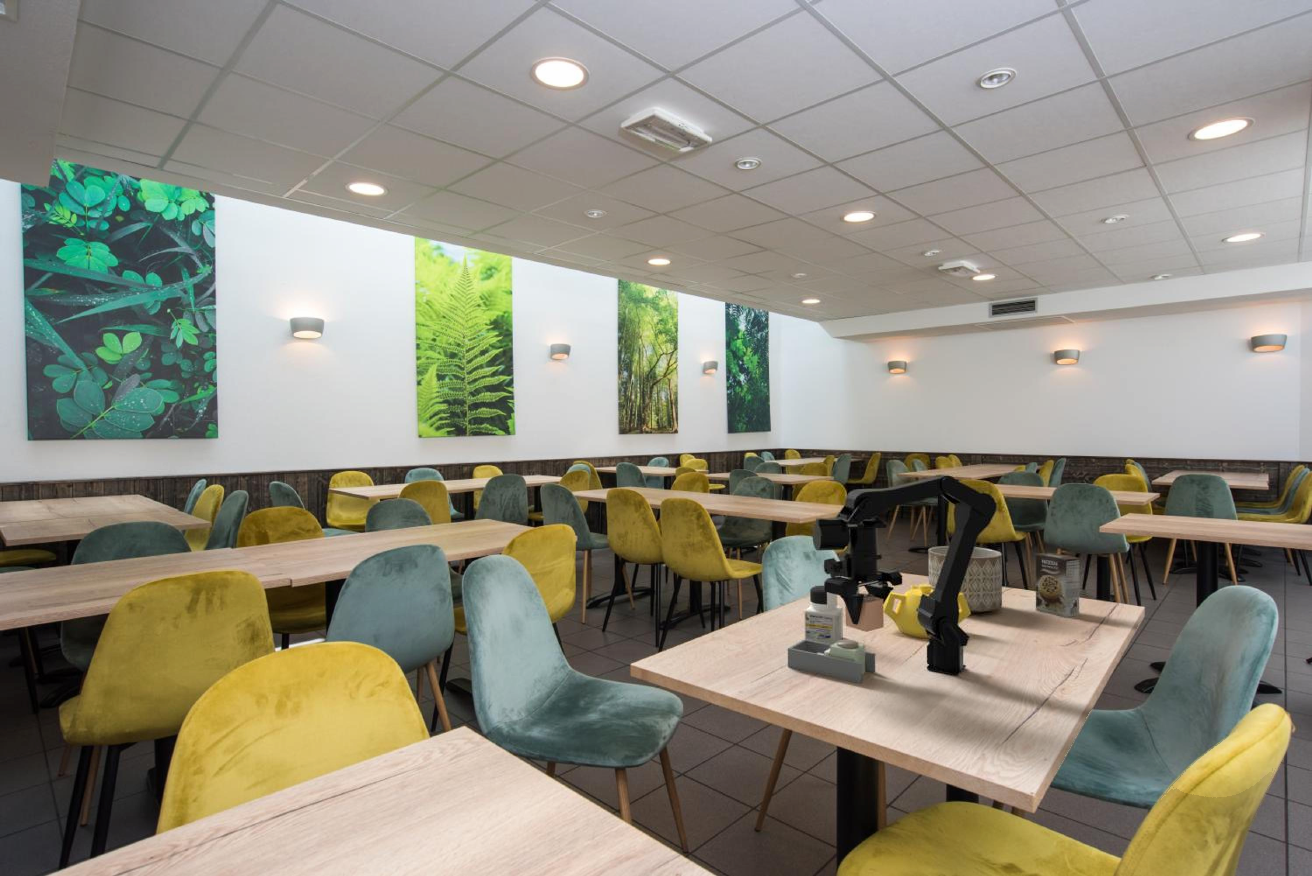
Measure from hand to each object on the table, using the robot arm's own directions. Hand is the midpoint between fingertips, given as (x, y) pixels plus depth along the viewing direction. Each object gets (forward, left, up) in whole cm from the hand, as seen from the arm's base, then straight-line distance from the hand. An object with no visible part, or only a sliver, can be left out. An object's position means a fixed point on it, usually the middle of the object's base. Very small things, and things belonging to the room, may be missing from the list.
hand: (864, 621), depth 144 cm
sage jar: (+3, +3, -11) cm, 12 cm away
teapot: (-1, -38, -11) cm, 40 cm away
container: (+17, -16, -11) cm, 26 cm away
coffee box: (-25, -78, -11) cm, 83 cm away
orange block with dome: (0, 0, -1) cm, 1 cm away
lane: (+6, +3, -11) cm, 13 cm away
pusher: (+8, +3, -11) cm, 13 cm away
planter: (-3, -68, -11) cm, 69 cm away
